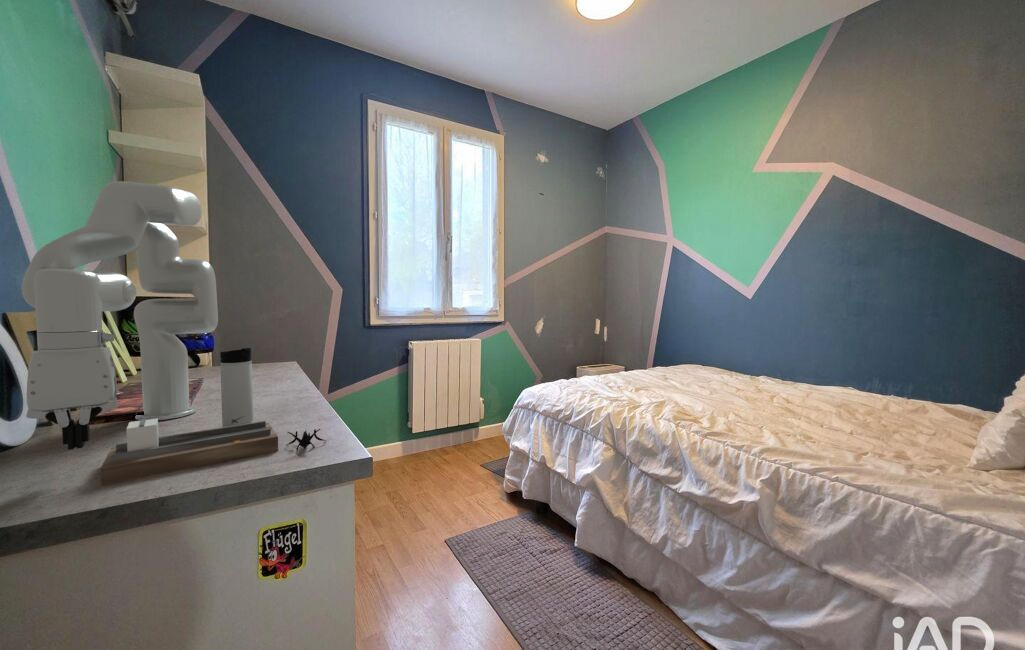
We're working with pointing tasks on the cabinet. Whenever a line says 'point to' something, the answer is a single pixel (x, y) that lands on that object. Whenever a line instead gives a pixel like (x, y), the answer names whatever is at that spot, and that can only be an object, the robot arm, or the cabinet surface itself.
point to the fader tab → (142, 434)
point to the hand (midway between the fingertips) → (77, 446)
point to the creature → (305, 439)
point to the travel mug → (236, 387)
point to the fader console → (189, 451)
